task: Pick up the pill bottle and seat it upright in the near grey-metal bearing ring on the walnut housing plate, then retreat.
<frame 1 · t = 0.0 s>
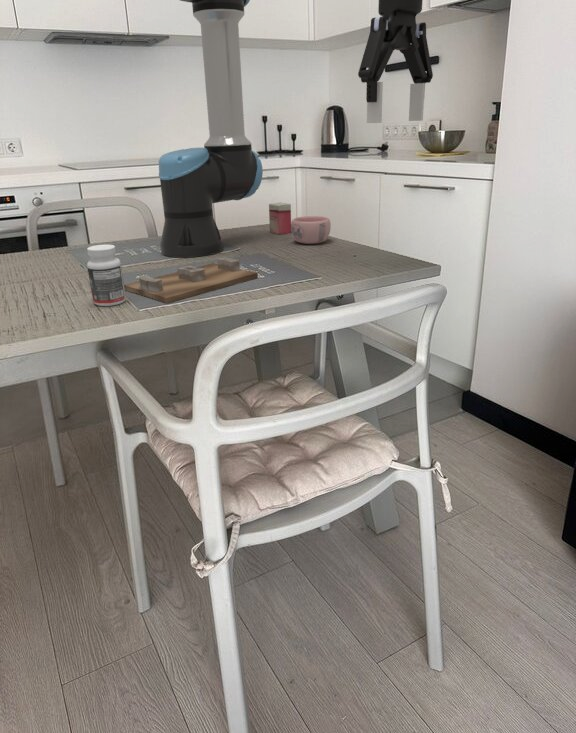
hand: (395, 122, 107), 28 cm above the table, fingers open, 13 cm apart
pill bottle: (110, 303, 103), on the table
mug: (308, 242, 148), on the table
small box: (280, 233, 161), on the table
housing: (192, 283, 113), on the table
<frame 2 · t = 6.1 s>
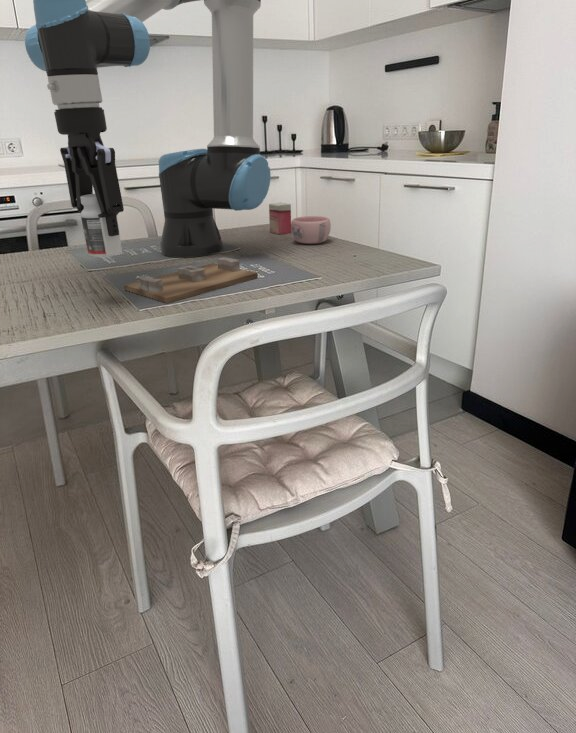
hand: (104, 251, 100), 9 cm above the table, fingers closed on pill bottle, 6 cm apart
pill bottle: (105, 255, 100), point 8 cm above the table, touching gripper
everything else where it was.
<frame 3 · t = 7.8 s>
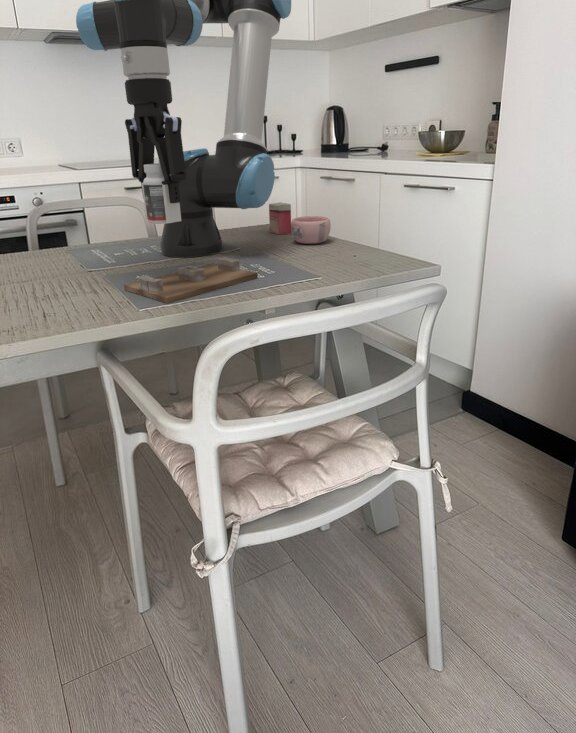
hand: (163, 220, 105), 13 cm above the table, fingers closed on pill bottle, 6 cm apart
pill bottle: (164, 222, 105), point 13 cm above the table, touching gripper
everything else where it was.
when the fingers open (2 cm above the table, at t = 10.0 s): pill bottle stays where it is, resting on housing.
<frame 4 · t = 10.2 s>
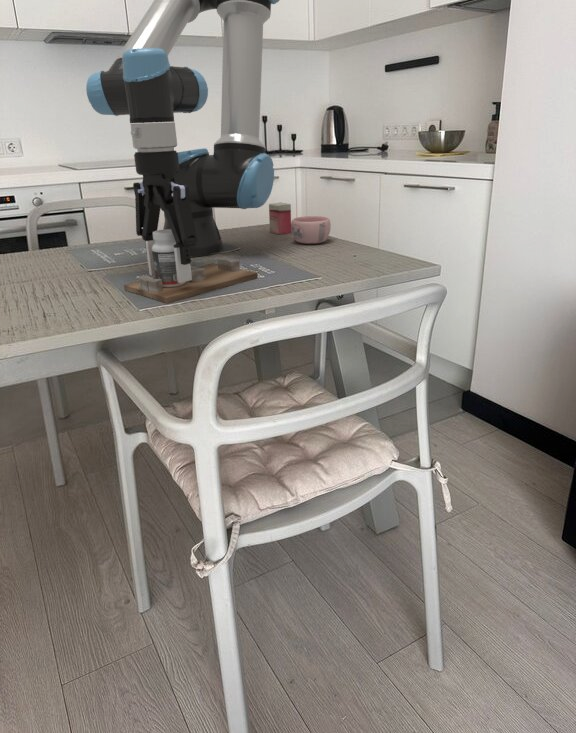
hand: (170, 277, 109), 2 cm above the table, fingers open, 8 cm apart
pill bottle: (171, 285, 110), point 1 cm above the table, touching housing
everything else where it was.
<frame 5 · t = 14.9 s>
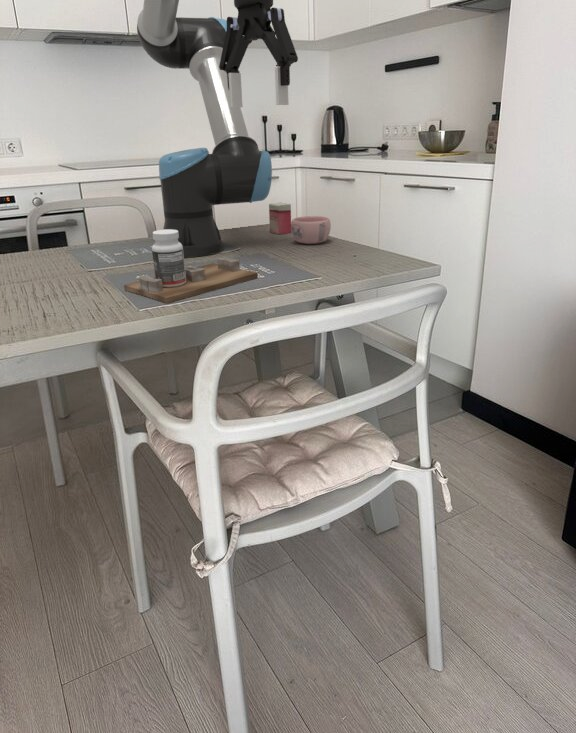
hand: (258, 106, 117), 32 cm above the table, fingers open, 13 cm apart
nothing on the table moved.
at the end: pill bottle 0.1 cm from the target spot on the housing, point 0.8 cm above the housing's base; pill bottle tilted 0°; the gripper is holding nothing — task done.
